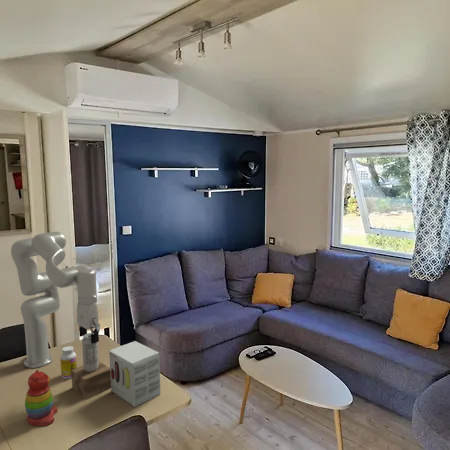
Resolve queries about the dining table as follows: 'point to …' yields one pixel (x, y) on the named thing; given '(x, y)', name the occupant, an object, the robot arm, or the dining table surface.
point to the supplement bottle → (68, 362)
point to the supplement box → (135, 372)
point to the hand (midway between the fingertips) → (89, 339)
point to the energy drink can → (89, 354)
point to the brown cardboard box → (91, 380)
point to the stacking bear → (39, 400)
